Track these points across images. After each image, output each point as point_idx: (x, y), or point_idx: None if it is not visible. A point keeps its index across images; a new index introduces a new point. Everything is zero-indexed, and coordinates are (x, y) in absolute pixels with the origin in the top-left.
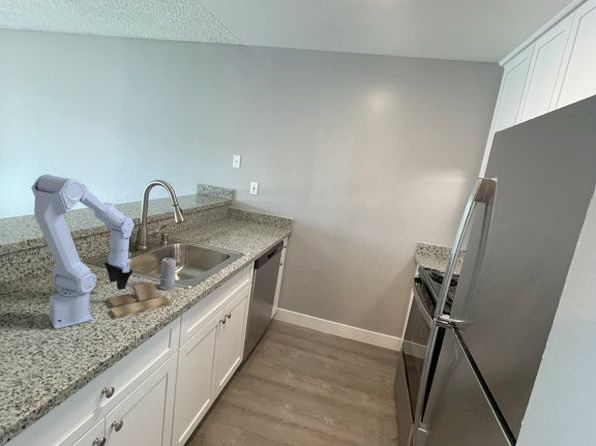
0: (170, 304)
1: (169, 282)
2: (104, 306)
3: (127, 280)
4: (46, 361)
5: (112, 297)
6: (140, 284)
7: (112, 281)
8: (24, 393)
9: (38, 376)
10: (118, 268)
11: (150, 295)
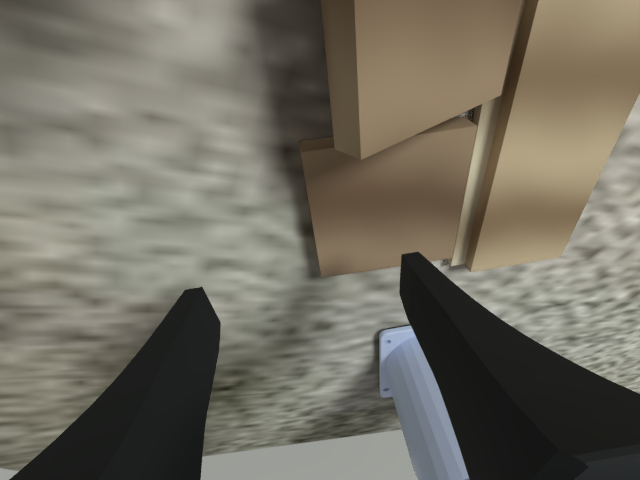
0: None
1: None
2: (381, 273)
3: (488, 311)
4: (599, 374)
5: (328, 253)
6: (359, 63)
7: (213, 316)
8: None
9: (636, 377)
10: (144, 438)
11: None
